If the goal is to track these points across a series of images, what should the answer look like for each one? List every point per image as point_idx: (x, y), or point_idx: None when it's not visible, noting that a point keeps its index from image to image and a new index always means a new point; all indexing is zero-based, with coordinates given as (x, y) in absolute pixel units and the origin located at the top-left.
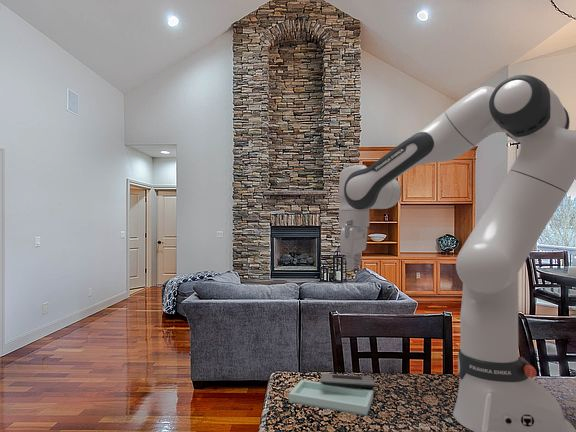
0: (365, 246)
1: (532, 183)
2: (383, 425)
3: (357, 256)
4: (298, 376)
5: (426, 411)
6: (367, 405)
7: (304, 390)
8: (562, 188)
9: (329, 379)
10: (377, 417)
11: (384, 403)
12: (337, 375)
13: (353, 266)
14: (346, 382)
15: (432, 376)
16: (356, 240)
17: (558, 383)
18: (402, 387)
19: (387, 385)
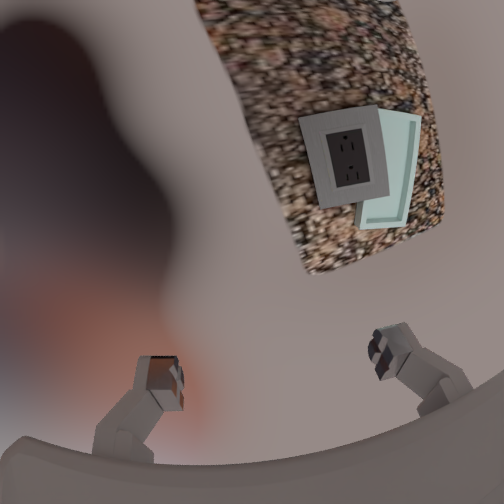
0: (24, 465)
1: None
2: (426, 93)
3: (136, 428)
4: (314, 243)
5: (375, 31)
6: (417, 115)
7: (371, 214)
8: None
9: (375, 184)
10: (412, 100)
11: (373, 88)
12: (339, 177)
13: (407, 337)
14: (385, 154)
15: (213, 11)
16: (497, 480)
17: None
18: (299, 58)
19: (301, 85)
